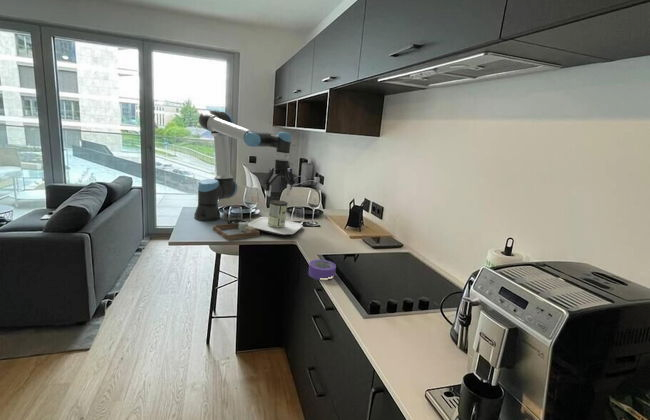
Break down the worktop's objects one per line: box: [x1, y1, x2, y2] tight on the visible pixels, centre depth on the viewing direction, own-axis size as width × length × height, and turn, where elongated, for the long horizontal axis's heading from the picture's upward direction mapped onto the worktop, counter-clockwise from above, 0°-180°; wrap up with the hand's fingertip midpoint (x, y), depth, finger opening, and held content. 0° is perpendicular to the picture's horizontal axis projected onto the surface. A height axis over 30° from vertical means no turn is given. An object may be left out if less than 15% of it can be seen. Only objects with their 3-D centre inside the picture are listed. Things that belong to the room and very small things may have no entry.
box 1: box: [237, 221, 248, 232], centre depth 194 cm, size 4×4×4 cm
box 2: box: [244, 226, 255, 233], centre depth 189 cm, size 4×4×4 cm
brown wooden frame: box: [212, 222, 261, 241], centre depth 188 cm, size 18×19×2 cm
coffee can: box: [268, 199, 288, 227], centre depth 201 cm, size 10×10×14 cm
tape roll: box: [308, 259, 337, 281], centre depth 148 cm, size 12×12×5 cm
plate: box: [246, 216, 304, 237], centre depth 203 cm, size 29×29×2 cm
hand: (278, 195), depth 199 cm, fingers open, 13 cm apart
